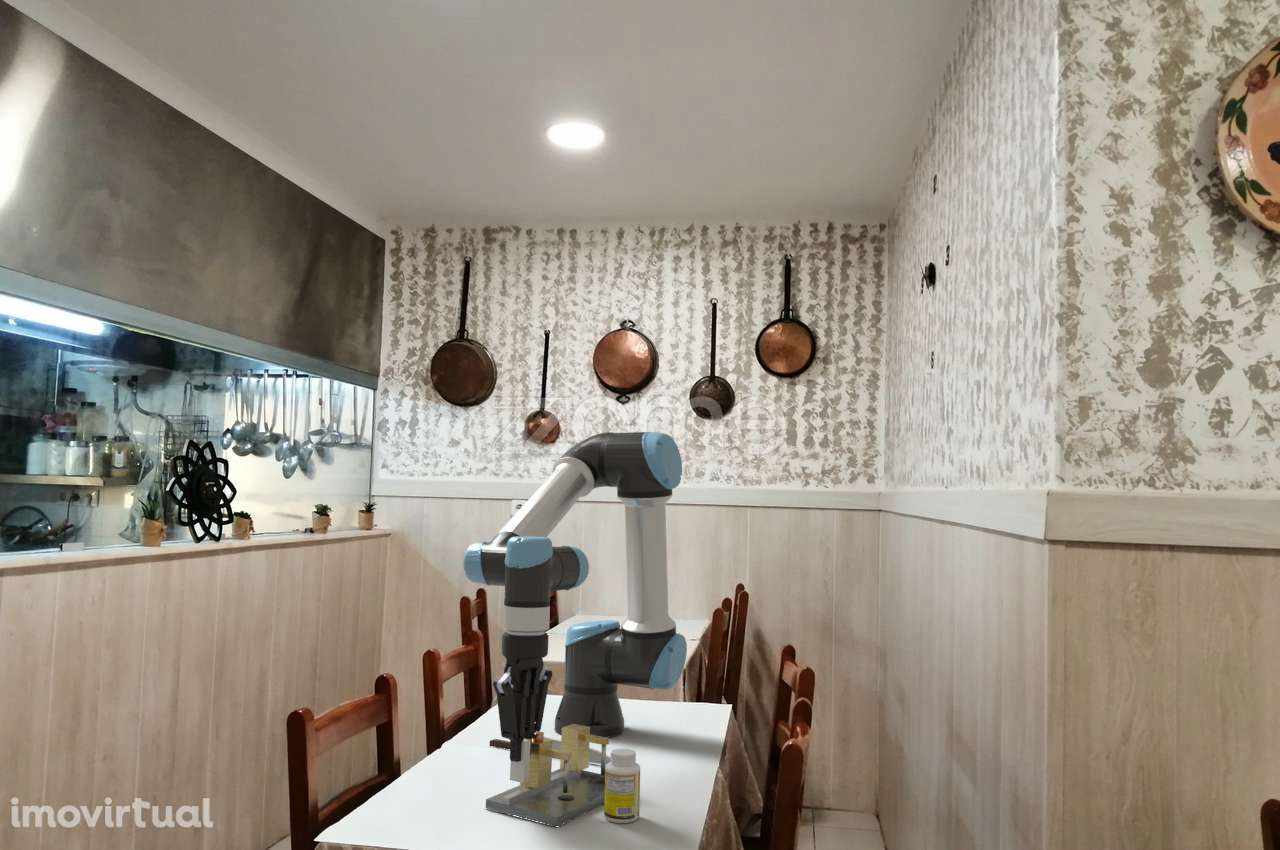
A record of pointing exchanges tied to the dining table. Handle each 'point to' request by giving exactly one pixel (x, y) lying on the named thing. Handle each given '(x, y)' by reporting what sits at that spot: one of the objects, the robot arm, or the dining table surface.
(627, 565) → the robot arm
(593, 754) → the kitchen knife
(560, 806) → the bolt plate
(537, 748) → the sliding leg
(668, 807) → the dining table surface
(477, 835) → the dining table surface
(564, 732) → the fixed leg
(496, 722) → the dining table surface
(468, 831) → the dining table surface
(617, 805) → the supplement bottle
